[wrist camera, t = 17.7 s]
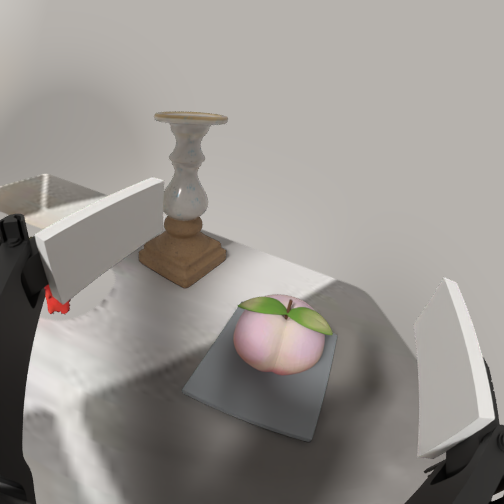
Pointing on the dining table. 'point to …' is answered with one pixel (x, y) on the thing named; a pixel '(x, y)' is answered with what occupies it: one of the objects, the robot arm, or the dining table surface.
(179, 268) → the candle holder
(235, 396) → the mat
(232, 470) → the dining table surface
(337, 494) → the dining table surface
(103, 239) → the robot arm
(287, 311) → the decorative fruit
